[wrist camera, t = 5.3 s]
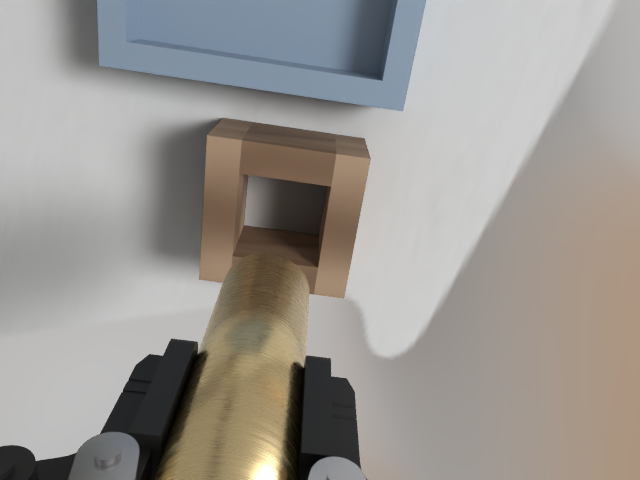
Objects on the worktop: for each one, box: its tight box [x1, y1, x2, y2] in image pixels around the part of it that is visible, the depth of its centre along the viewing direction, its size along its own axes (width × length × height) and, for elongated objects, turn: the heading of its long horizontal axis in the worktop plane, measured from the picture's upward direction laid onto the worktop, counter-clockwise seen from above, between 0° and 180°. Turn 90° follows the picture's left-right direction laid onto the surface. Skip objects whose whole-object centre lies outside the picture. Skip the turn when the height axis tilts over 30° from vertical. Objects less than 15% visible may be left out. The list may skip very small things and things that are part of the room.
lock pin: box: [153, 253, 309, 480], centre depth 15 cm, size 3×3×10 cm
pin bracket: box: [199, 118, 370, 298], centre depth 27 cm, size 8×8×4 cm
